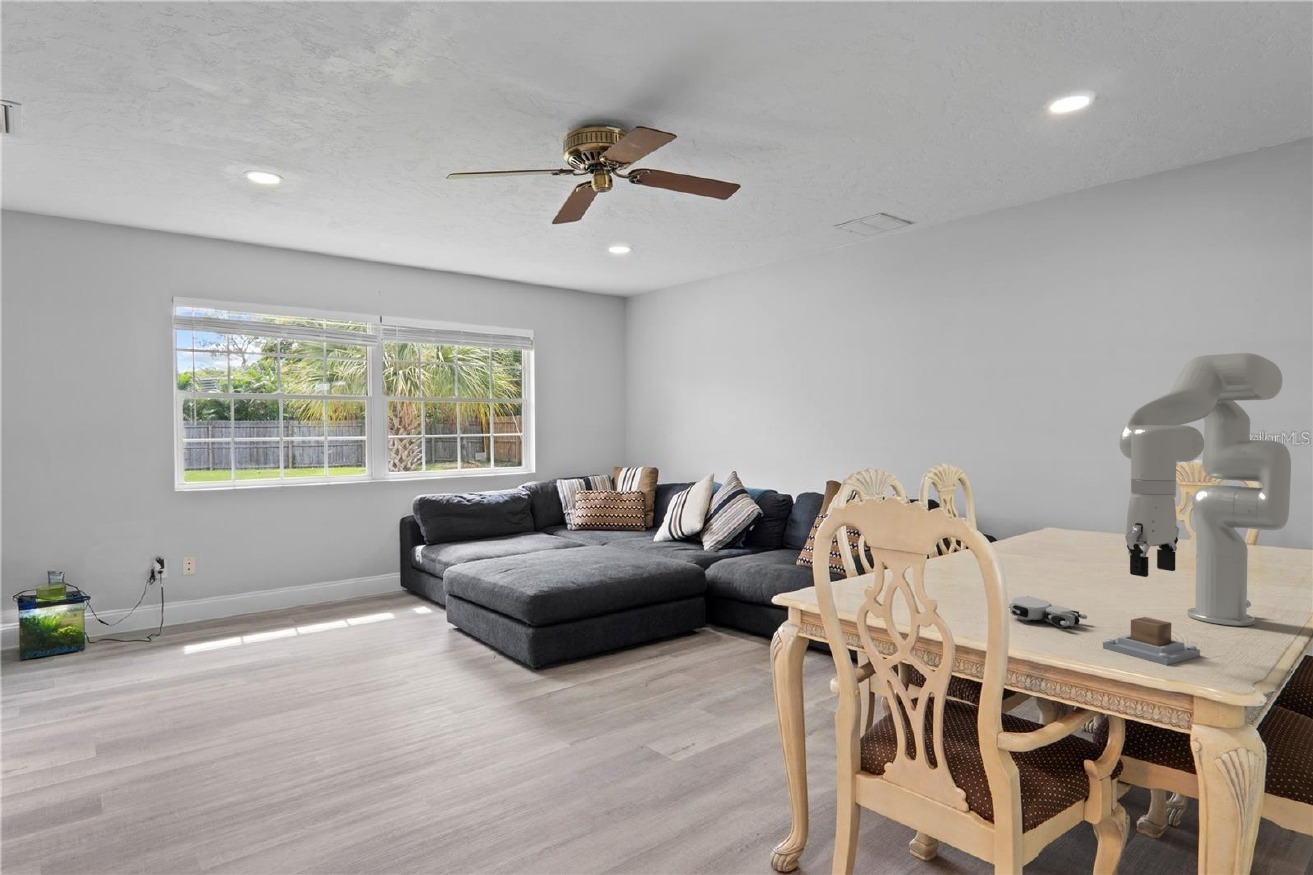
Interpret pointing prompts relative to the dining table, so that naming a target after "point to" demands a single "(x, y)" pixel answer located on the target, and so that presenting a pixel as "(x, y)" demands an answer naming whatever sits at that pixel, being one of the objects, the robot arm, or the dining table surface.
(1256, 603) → the dining table surface
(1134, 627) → the walnut cube
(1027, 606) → the robot toy
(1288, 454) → the robot arm
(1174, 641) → the base plate
